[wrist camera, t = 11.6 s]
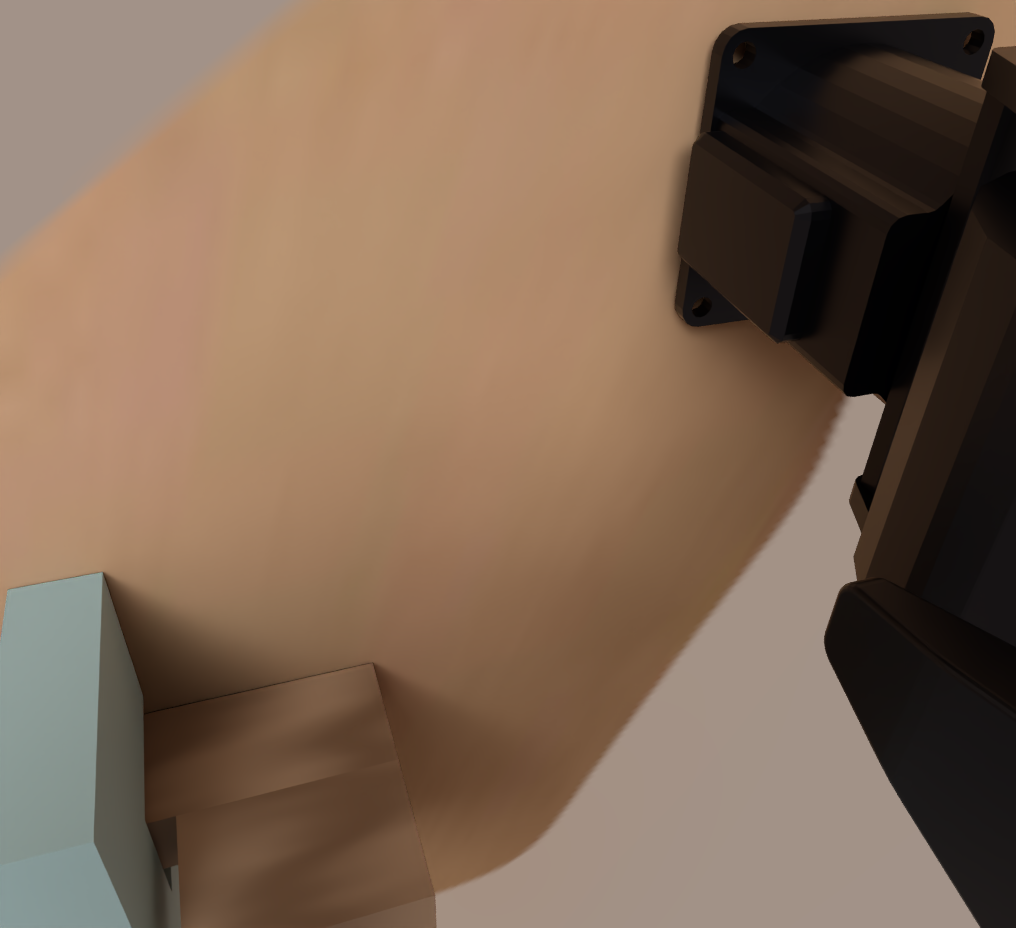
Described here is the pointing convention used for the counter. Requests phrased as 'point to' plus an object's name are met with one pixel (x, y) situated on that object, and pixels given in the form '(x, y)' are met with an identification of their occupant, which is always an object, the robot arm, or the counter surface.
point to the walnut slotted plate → (287, 808)
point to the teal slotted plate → (74, 768)
